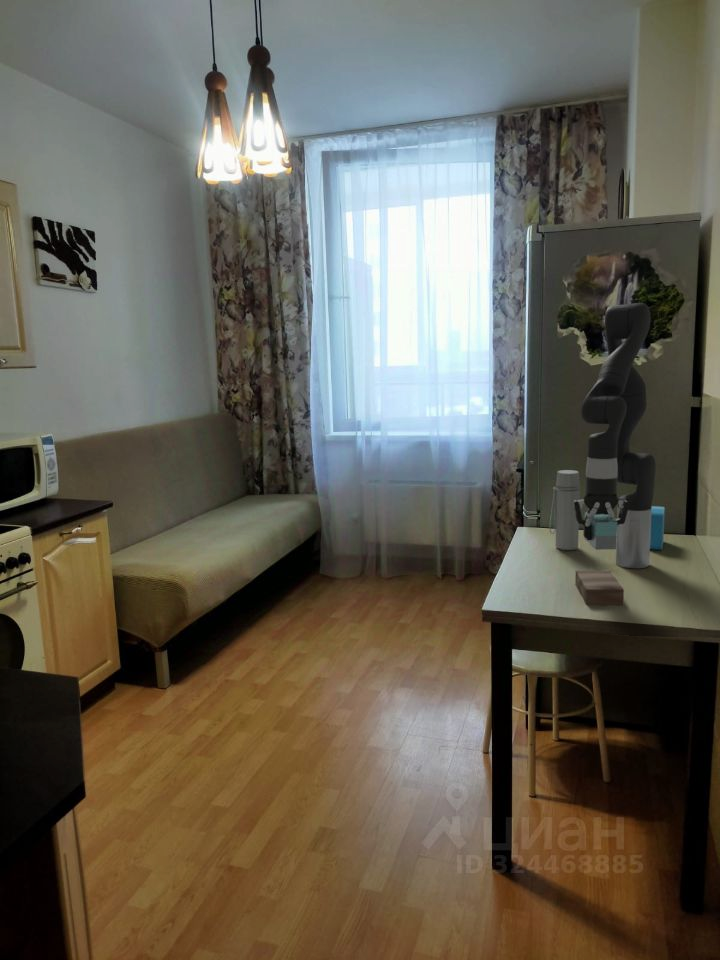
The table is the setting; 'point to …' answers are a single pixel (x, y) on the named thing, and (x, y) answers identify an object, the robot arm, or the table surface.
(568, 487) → the water bottle
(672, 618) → the table surface
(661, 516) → the data package
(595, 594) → the walnut stand
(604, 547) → the block
